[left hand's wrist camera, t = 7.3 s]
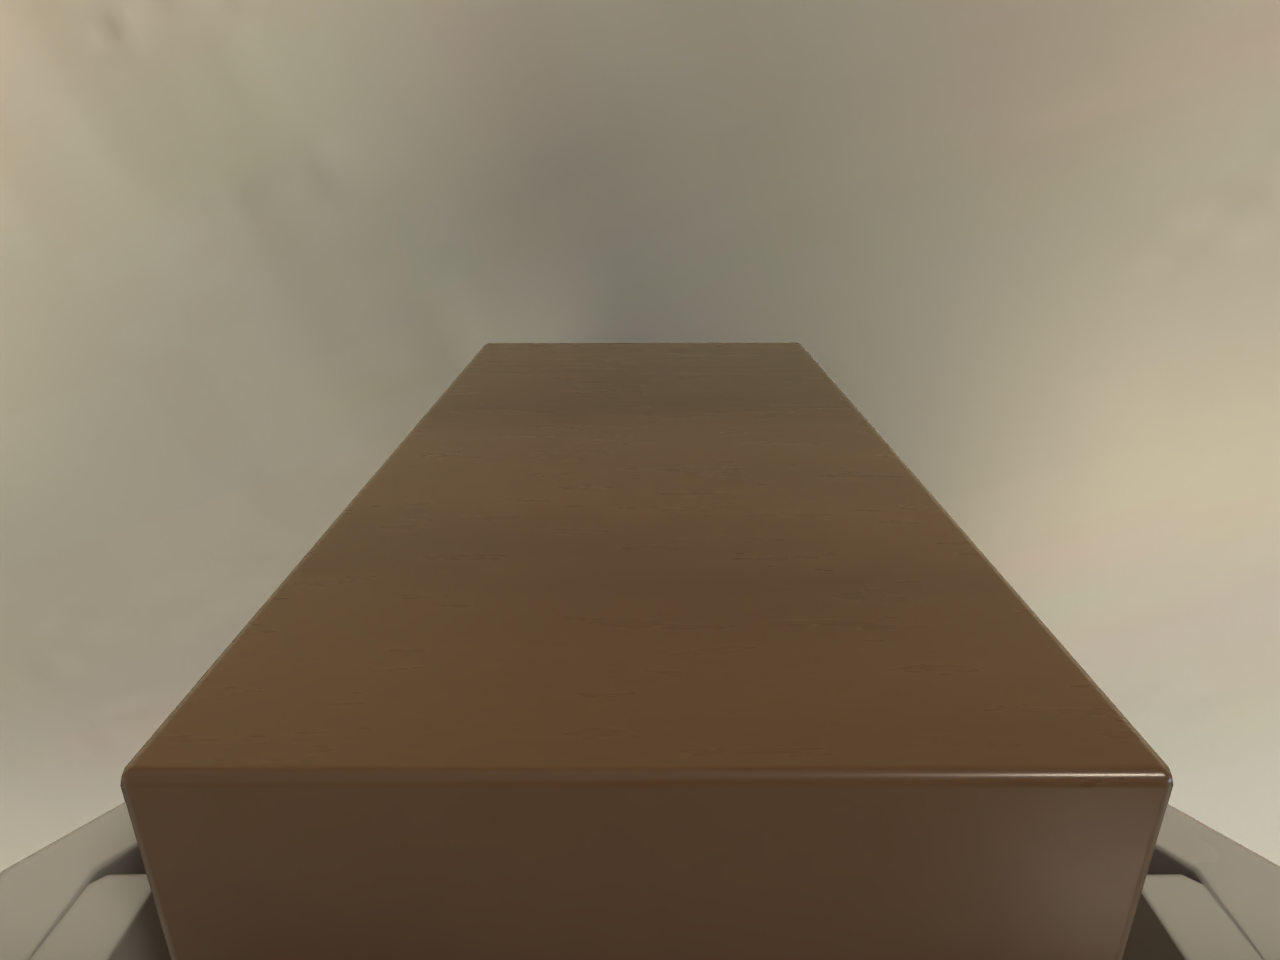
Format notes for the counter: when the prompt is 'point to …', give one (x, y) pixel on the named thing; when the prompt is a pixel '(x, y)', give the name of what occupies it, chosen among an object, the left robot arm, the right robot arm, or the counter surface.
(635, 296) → the counter surface
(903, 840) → the box
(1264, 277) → the counter surface
